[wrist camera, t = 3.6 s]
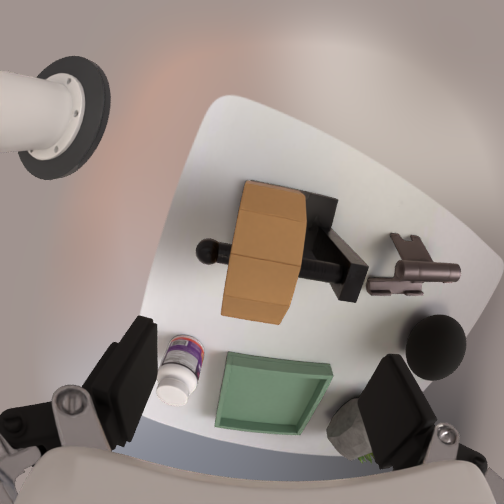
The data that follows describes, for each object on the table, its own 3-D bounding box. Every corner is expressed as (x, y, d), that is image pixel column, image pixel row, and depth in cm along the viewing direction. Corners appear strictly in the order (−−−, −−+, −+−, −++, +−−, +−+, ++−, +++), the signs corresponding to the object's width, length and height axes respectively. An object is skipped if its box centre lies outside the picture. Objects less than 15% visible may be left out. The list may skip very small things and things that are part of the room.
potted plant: (379, 383, 36) (428, 416, 34) (337, 389, 46) (384, 418, 45) (344, 451, 29) (401, 475, 28) (305, 441, 40) (358, 467, 39)
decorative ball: (433, 290, 34) (470, 325, 25) (452, 324, 36) (482, 358, 27) (385, 335, 36) (412, 378, 27) (409, 362, 39) (433, 401, 29)
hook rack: (210, 258, 33) (186, 313, 21) (223, 175, 30) (201, 185, 18) (315, 277, 33) (342, 337, 22) (336, 198, 30) (382, 223, 18)
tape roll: (229, 279, 30) (215, 342, 19) (247, 177, 26) (241, 188, 16) (270, 286, 30) (276, 351, 19) (293, 186, 26) (317, 204, 16)
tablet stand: (363, 288, 34) (388, 323, 26) (375, 231, 31) (407, 253, 23) (415, 289, 34) (445, 319, 26) (429, 237, 31) (465, 258, 23)
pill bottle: (194, 367, 39) (182, 415, 30) (164, 350, 38) (144, 396, 29) (211, 346, 37) (201, 396, 28) (178, 327, 36) (159, 374, 27)
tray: (215, 415, 43) (214, 427, 40) (228, 351, 38) (226, 364, 35) (298, 424, 44) (300, 435, 41) (330, 363, 38) (333, 376, 36)
